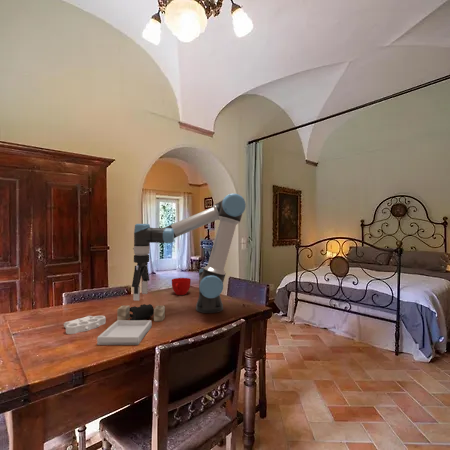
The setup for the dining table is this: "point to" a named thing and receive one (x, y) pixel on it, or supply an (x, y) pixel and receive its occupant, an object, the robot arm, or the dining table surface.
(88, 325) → the muffin pan
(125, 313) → the block
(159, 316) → the block
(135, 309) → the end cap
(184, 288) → the ceramic cup
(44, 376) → the dining table surface
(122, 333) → the tray
